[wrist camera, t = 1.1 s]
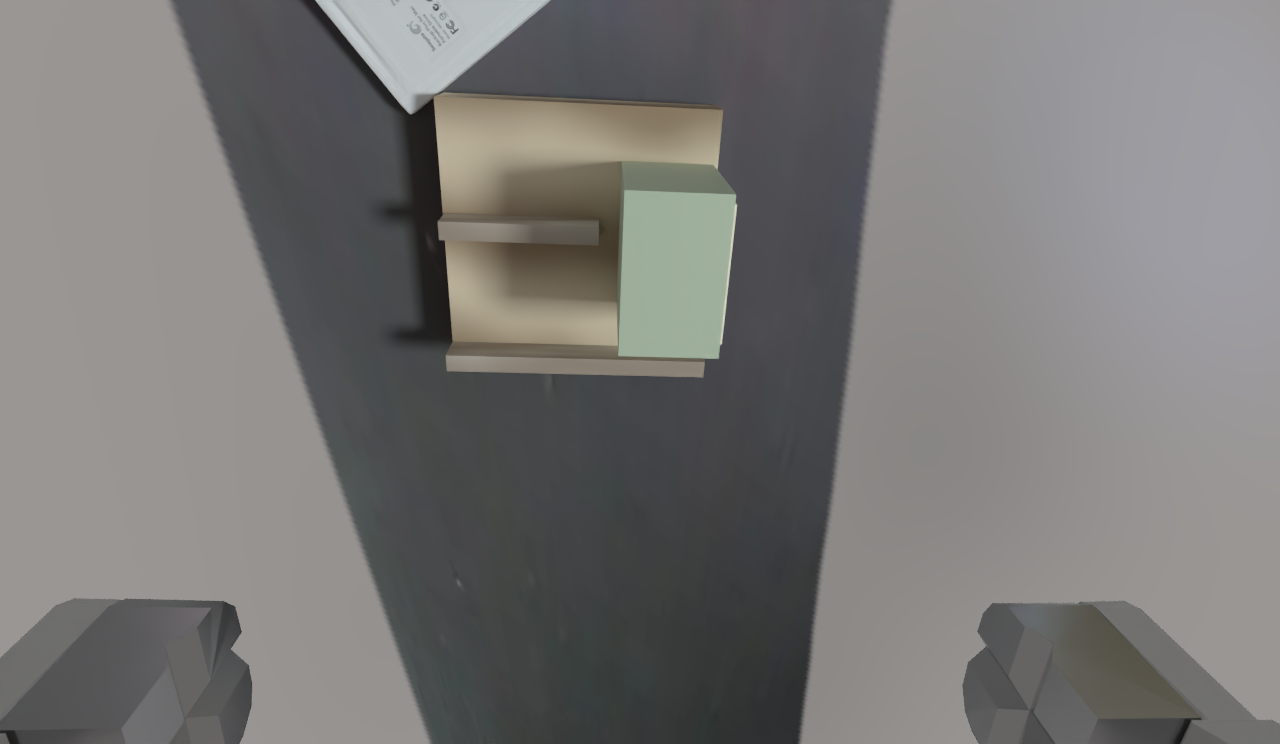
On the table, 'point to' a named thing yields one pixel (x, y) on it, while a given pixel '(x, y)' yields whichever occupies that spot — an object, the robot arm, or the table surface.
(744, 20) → the table surface
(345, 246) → the table surface
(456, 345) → the shelf
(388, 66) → the external hard drive
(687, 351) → the tea box
